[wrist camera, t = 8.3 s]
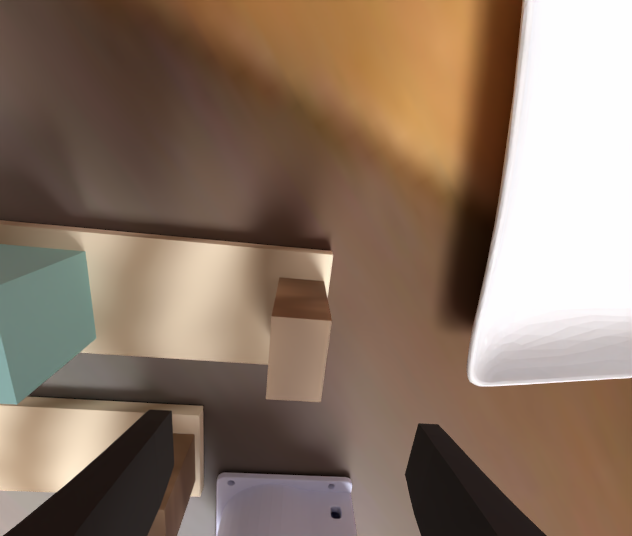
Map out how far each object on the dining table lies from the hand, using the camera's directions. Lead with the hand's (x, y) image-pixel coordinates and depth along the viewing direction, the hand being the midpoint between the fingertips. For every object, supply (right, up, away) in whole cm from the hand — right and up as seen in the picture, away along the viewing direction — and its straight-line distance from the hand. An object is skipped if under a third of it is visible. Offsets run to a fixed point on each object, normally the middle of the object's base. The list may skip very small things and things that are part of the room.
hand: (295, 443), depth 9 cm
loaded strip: (-9, +4, +8) cm, 13 cm away
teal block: (-14, +4, +7) cm, 16 cm away
